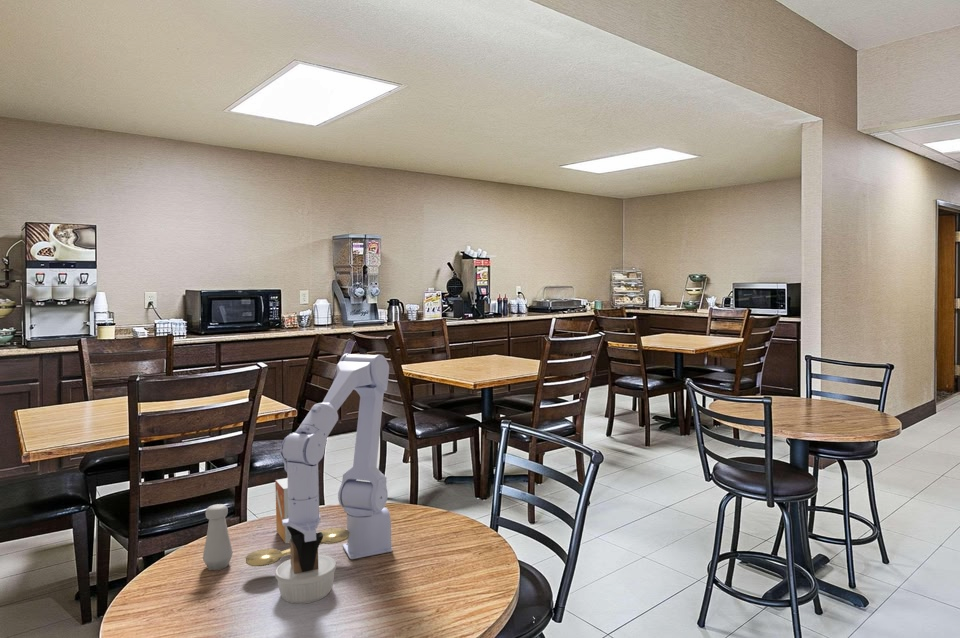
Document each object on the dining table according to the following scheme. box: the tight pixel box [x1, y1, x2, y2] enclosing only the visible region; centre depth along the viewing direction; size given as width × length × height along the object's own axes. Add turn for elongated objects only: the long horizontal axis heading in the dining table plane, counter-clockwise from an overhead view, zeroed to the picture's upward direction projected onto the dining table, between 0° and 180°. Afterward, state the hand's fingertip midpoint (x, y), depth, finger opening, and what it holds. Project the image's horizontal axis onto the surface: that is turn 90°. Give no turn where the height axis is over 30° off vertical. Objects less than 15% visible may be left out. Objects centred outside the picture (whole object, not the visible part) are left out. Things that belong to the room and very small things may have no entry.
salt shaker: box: [202, 503, 233, 571], centre depth 130 cm, size 6×6×13 cm
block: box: [289, 539, 319, 574], centre depth 118 cm, size 4×4×5 cm
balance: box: [245, 527, 349, 567], centre depth 128 cm, size 21×7×6 cm, turn 115°
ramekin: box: [274, 554, 337, 605], centre depth 118 cm, size 11×11×5 cm
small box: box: [275, 477, 291, 544], centre depth 146 cm, size 8×6×13 cm
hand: (305, 564), depth 118 cm, fingers closed on block, 4 cm apart
